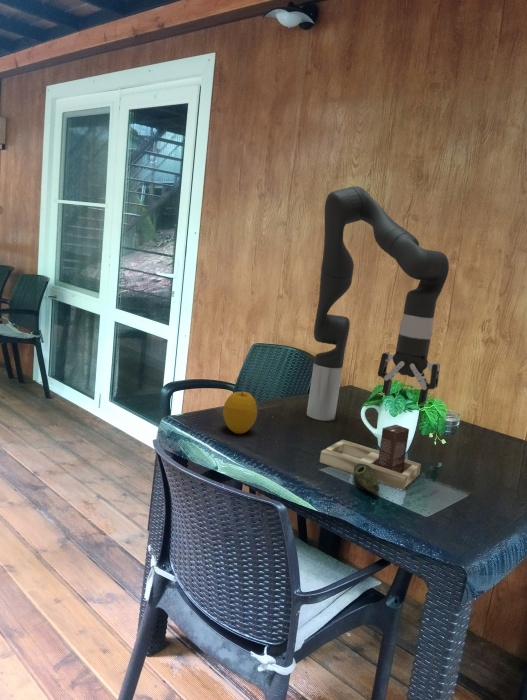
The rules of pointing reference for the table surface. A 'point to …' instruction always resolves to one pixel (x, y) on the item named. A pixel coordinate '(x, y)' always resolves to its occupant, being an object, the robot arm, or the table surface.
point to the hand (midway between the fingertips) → (403, 399)
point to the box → (393, 448)
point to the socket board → (367, 463)
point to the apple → (240, 412)
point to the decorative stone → (366, 477)
